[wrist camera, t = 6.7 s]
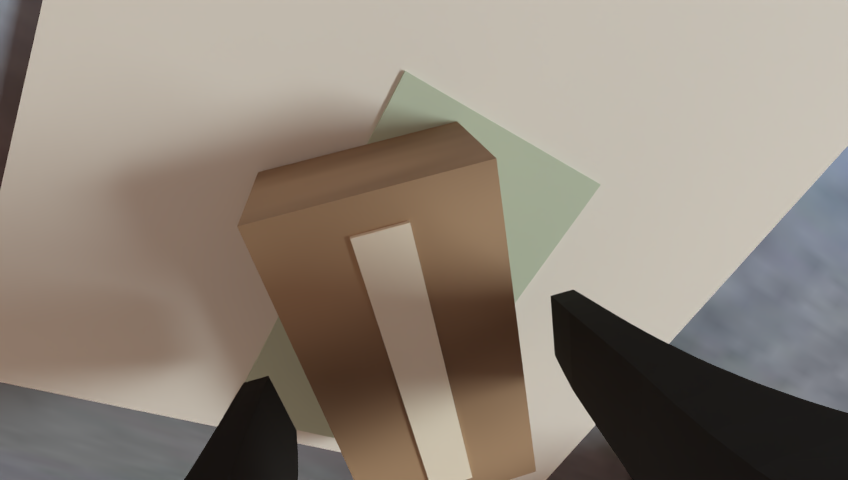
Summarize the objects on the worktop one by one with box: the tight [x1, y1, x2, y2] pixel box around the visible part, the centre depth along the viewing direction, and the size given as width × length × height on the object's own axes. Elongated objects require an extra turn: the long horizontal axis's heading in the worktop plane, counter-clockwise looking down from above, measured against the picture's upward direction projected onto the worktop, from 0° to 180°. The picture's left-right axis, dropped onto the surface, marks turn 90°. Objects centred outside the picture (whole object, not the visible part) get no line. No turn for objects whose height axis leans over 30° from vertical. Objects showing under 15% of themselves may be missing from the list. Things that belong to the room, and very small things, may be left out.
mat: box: [0, 0, 848, 480], centre depth 13 cm, size 20×20×1 cm
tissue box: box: [237, 121, 536, 480], centre depth 12 cm, size 10×5×3 cm, turn 11°
